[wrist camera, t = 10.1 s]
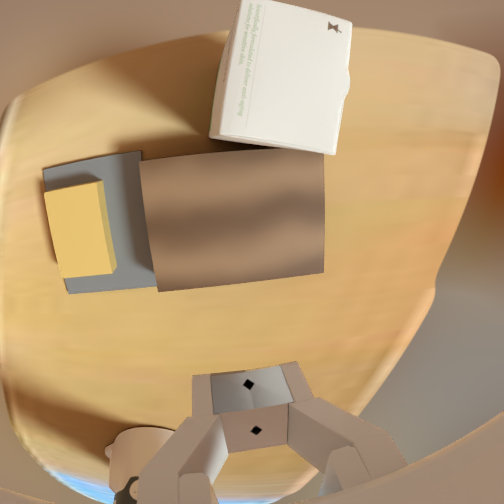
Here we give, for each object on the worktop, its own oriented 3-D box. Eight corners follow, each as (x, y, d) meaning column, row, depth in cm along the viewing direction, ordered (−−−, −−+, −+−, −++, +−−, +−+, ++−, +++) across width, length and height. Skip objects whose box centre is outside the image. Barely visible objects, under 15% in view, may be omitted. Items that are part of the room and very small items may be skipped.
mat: (159, 284, 32) (159, 285, 32) (70, 292, 31) (68, 294, 30) (141, 150, 27) (140, 150, 27) (44, 169, 26) (43, 169, 26)
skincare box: (219, 60, 26) (238, -14, 11) (285, 72, 27) (358, 17, 12) (206, 141, 28) (211, 135, 14) (274, 150, 30) (341, 157, 15)
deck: (310, 258, 34) (323, 272, 30) (162, 275, 32) (158, 292, 28) (308, 147, 30) (323, 147, 26) (146, 159, 28) (138, 161, 24)
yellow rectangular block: (61, 278, 28) (68, 271, 30) (112, 273, 29) (117, 266, 30) (43, 192, 25) (52, 189, 27) (96, 182, 25) (102, 180, 27)
